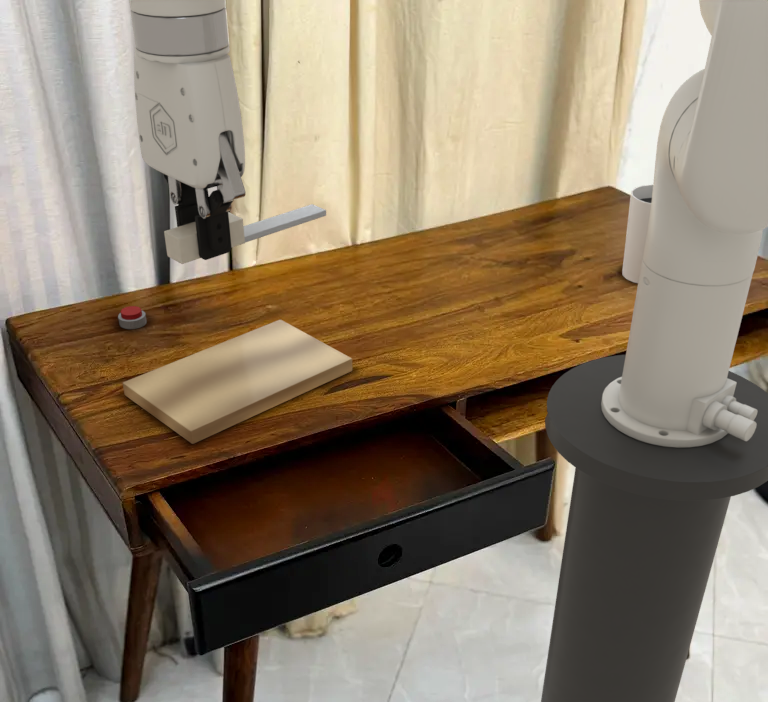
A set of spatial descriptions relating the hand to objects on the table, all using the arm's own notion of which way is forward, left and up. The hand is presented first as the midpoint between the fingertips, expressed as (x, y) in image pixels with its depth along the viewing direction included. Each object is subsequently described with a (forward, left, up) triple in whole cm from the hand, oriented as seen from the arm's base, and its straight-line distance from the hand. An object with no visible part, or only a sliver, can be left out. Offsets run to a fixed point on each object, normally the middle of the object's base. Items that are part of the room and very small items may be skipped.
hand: (205, 248), depth 91 cm
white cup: (-13, -54, -15) cm, 58 cm away
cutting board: (0, -2, -15) cm, 15 cm away
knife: (0, -5, 0) cm, 5 cm away
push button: (+19, -1, -15) cm, 24 cm away
